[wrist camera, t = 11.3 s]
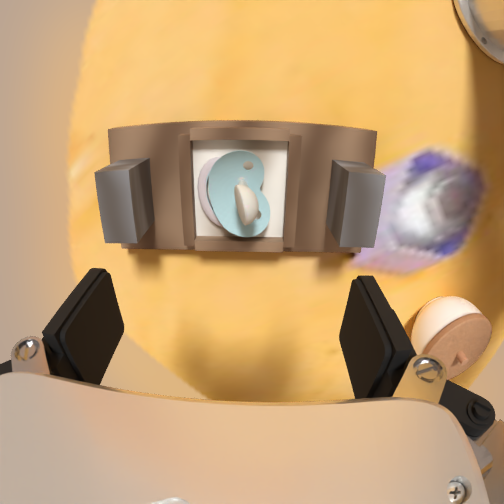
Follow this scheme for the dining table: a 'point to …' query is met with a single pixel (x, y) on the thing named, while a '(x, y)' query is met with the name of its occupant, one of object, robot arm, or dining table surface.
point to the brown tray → (266, 149)
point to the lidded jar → (451, 333)
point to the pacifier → (234, 193)
